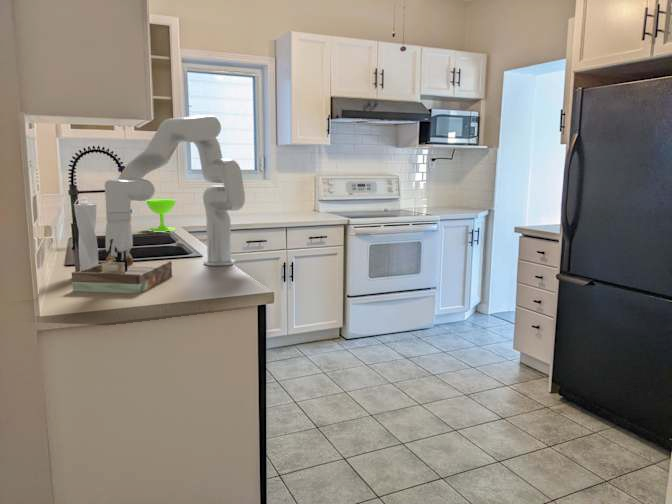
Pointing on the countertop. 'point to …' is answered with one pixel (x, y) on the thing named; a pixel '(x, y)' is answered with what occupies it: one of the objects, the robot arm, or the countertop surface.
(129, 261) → the bread roll
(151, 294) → the countertop surface
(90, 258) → the skyscraper
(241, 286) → the countertop surface
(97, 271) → the trap box
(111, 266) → the birch block
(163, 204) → the wineglass
